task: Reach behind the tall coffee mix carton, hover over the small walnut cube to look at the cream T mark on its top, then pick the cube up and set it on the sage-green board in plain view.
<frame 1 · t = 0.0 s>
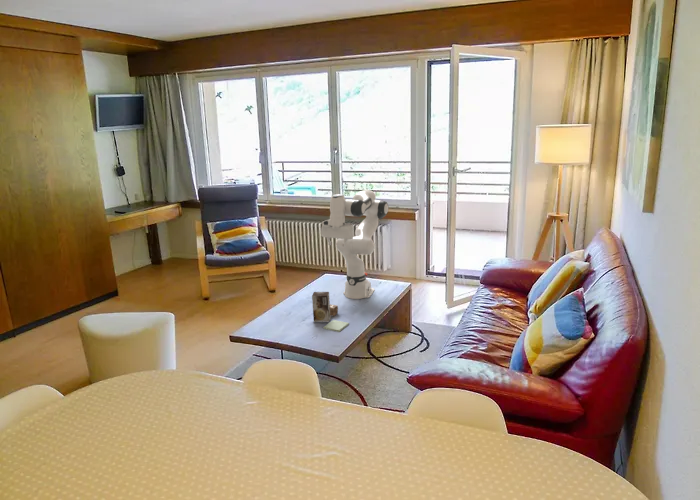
hand: (337, 245, 294), 39 cm above the table, tool pointing down, fingers open, 8 cm apart
sage board: (336, 326, 277), on the table
walnut cube: (332, 314, 294), on the table
coffee box: (322, 320, 286), on the table
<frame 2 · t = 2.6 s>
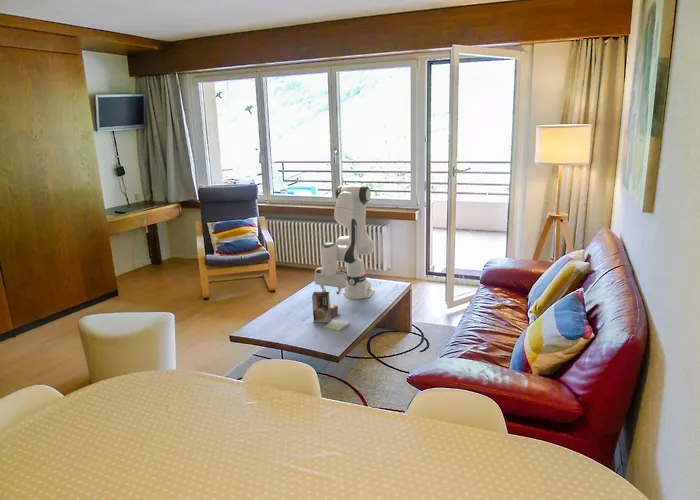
hand: (331, 293, 291), 13 cm above the table, tool pointing down, fingers open, 8 cm apart
nothing on the table moved.
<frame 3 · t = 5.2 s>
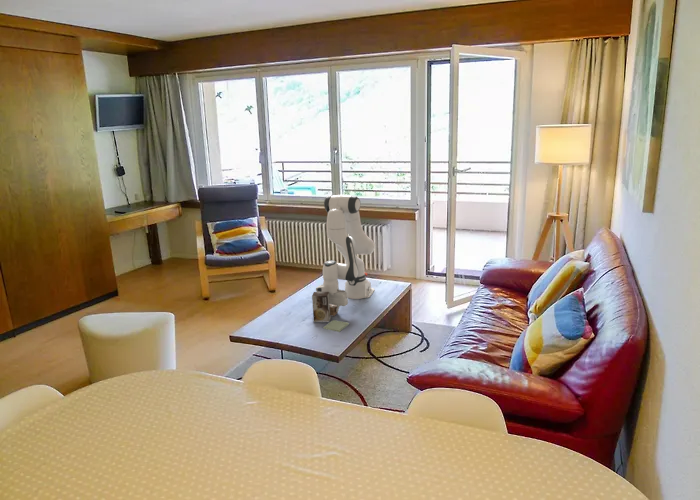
hand: (331, 310, 294), 2 cm above the table, tool pointing down, fingers closed on walnut cube, 5 cm apart
walnut cube: (332, 314, 294), on the table, touching gripper
everything else where it was.
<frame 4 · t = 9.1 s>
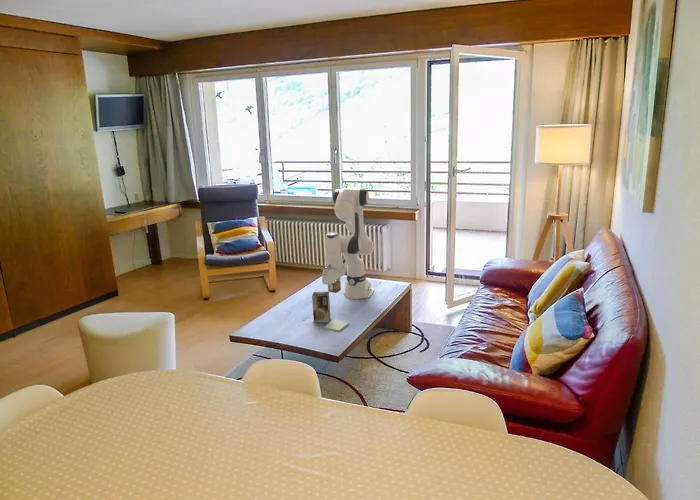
hand: (334, 287, 271), 23 cm above the table, tool pointing down, fingers closed on walnut cube, 5 cm apart
walnut cube: (334, 290, 271), point 21 cm above the table, touching gripper
everything else where it was.
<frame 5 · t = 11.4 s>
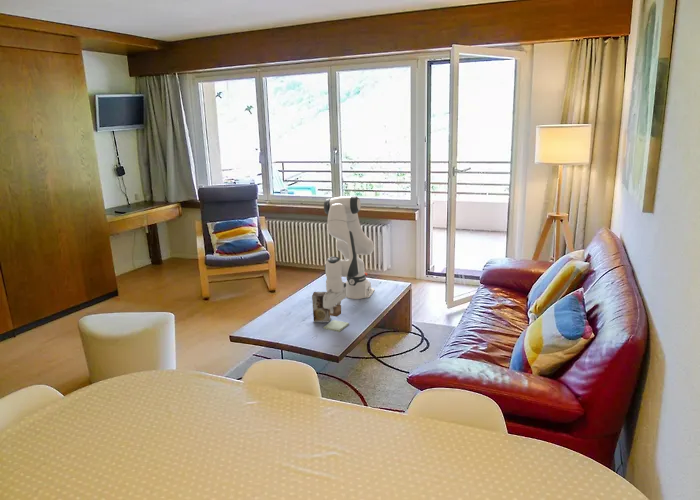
hand: (335, 310, 274), 9 cm above the table, tool pointing down, fingers closed on walnut cube, 5 cm apart
walnut cube: (335, 314, 275), point 7 cm above the table, touching gripper
everything else where it was.
when the fingers open (4 cm above the table, at t = 13.4 s): walnut cube stays where it is, resting on sage board.
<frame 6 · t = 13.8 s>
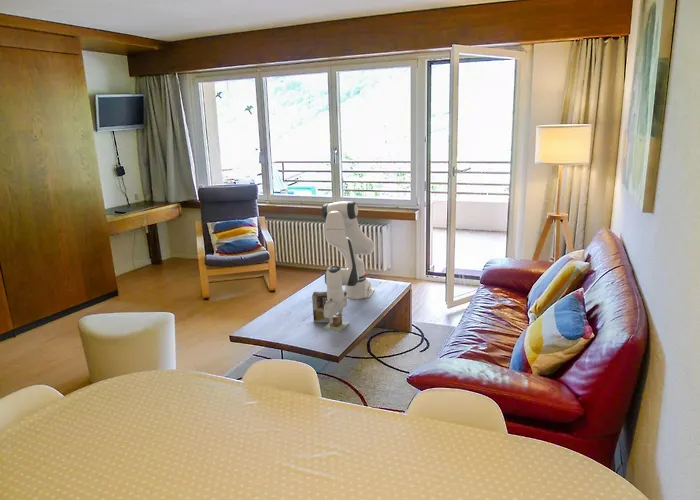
hand: (335, 319, 276), 4 cm above the table, tool pointing down, fingers open, 8 cm apart
walnut cube: (336, 324, 276), point 1 cm above the table, touching sage board
everything else where it was.
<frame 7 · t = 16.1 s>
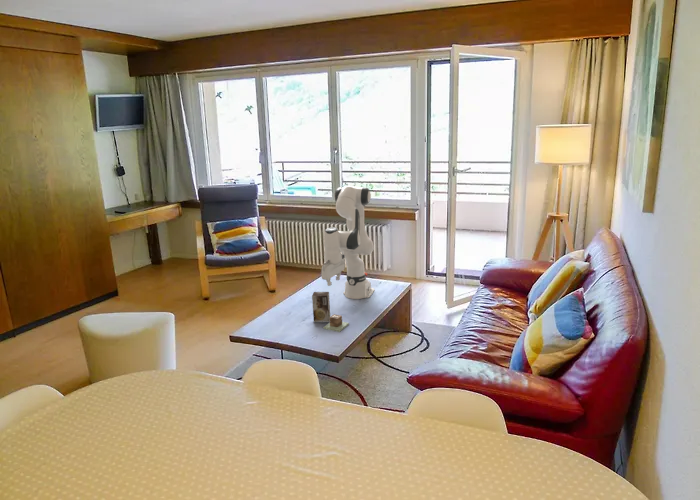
hand: (333, 282, 271), 25 cm above the table, tool pointing down, fingers open, 8 cm apart
nothing on the table moved.
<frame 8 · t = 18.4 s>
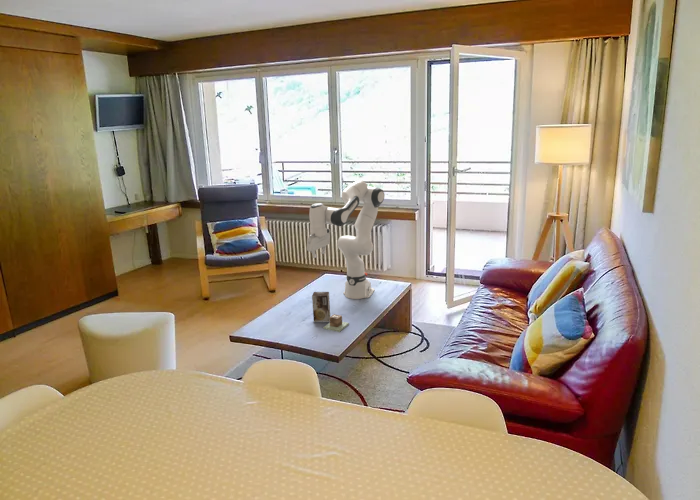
hand: (319, 255, 288), 35 cm above the table, tool pointing down, fingers open, 8 cm apart
nothing on the table moved.
at the end: walnut cube 0.1 cm off-centre on the sage board, point 1.0 cm above the sage board's base; walnut cube tilted 0°; coffee box moved 0.2 cm from its start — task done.
